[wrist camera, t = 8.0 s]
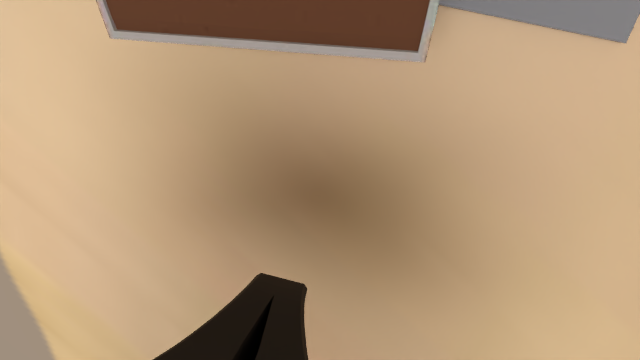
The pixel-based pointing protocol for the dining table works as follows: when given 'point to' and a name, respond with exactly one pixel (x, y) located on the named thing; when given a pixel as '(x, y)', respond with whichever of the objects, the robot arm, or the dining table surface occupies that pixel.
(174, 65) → the dining table surface
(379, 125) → the dining table surface
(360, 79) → the dining table surface
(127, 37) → the food container
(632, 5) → the plain gray flat panel
